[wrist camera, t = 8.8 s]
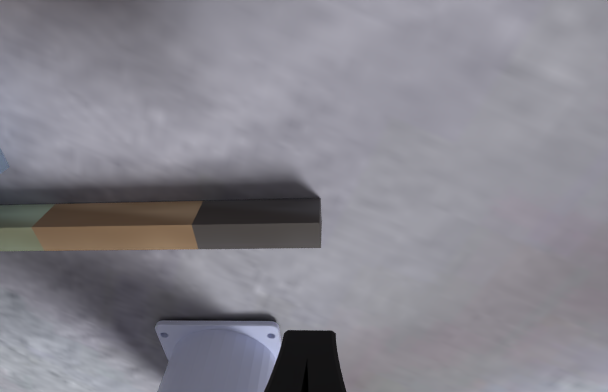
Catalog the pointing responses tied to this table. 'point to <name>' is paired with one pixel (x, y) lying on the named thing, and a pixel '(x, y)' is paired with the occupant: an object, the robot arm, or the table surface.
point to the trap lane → (162, 225)
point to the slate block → (3, 163)
